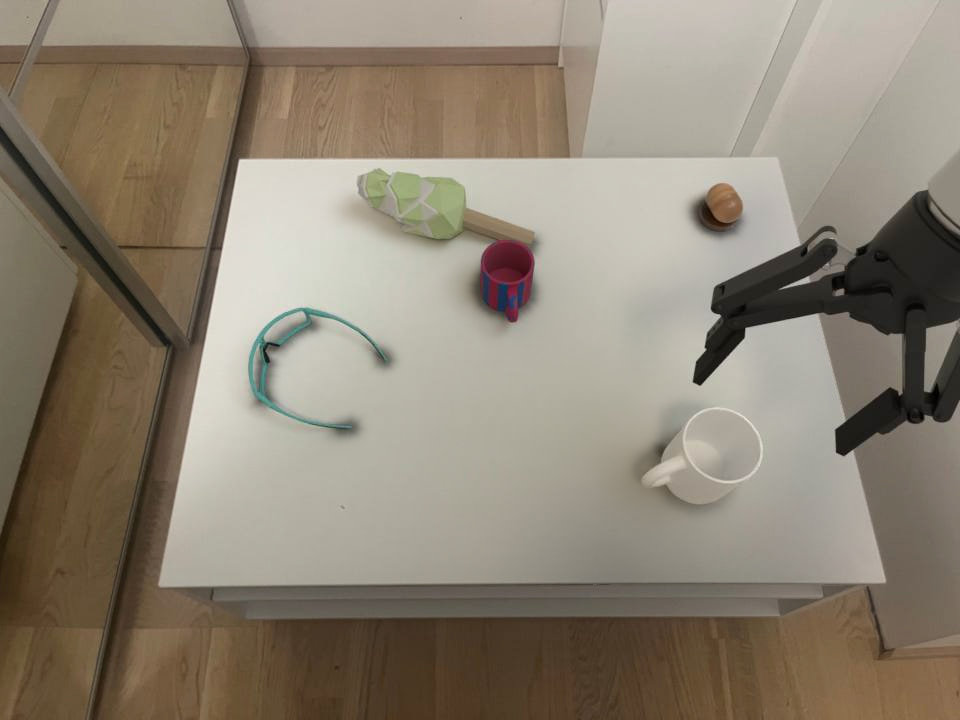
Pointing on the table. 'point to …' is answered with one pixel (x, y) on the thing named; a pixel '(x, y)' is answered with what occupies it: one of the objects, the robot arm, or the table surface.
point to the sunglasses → (265, 344)
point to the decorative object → (432, 206)
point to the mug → (708, 457)
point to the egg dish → (721, 208)
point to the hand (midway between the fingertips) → (768, 408)
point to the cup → (507, 276)
